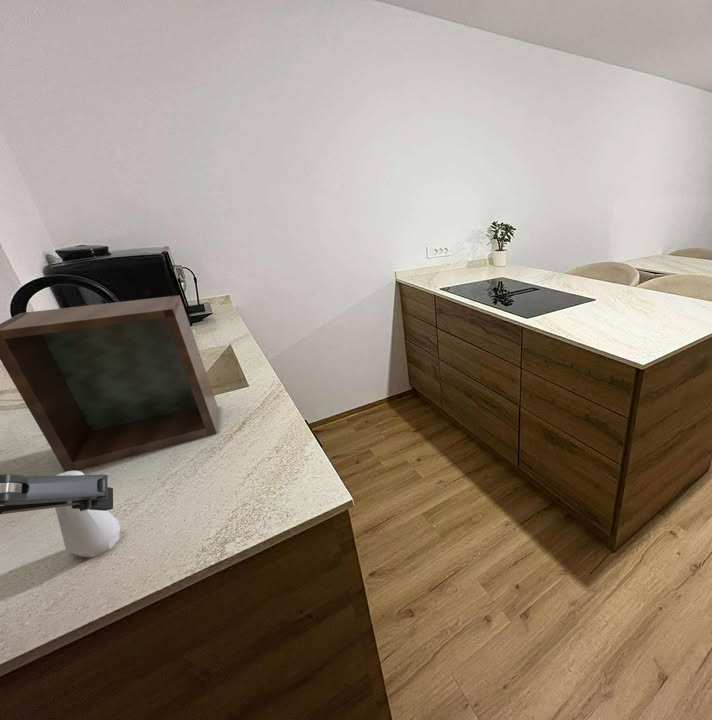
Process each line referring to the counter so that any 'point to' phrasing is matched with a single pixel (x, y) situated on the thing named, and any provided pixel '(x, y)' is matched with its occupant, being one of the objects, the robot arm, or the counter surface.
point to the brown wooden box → (110, 378)
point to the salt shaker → (87, 528)
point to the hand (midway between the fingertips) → (39, 516)
